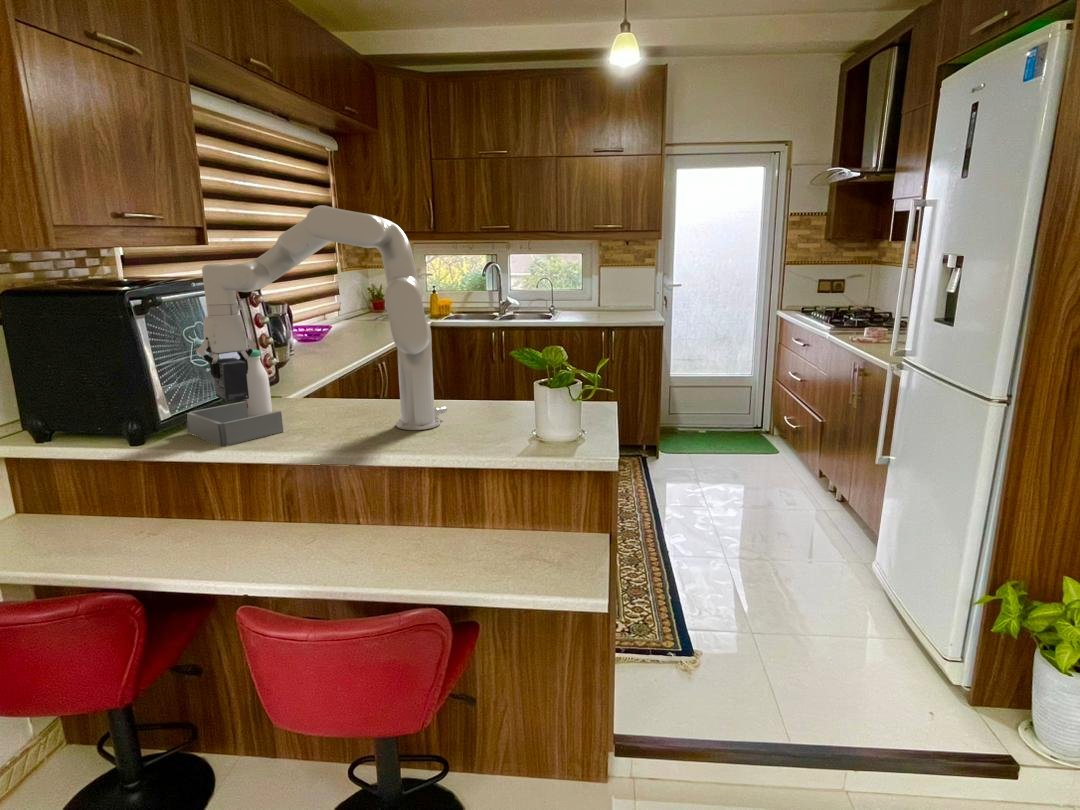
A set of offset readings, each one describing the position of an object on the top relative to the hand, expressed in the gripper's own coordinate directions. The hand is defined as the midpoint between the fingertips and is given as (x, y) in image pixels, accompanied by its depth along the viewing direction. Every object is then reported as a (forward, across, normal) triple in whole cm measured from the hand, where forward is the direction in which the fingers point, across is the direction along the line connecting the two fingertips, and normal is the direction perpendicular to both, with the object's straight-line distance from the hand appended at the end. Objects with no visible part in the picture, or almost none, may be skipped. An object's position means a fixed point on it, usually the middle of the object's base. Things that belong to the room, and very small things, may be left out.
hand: (230, 375), depth 184 cm
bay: (+16, 0, 0) cm, 16 cm away
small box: (+7, 0, 0) cm, 7 cm away
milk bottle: (+17, -14, -14) cm, 26 cm away
